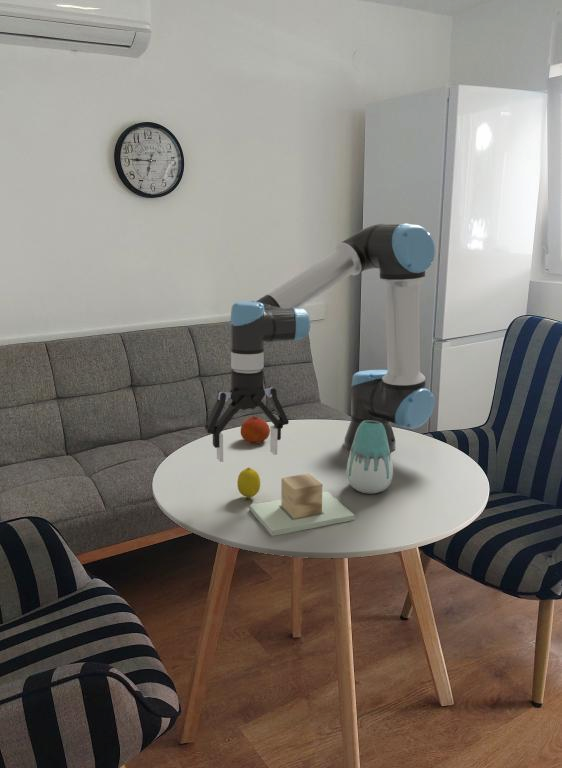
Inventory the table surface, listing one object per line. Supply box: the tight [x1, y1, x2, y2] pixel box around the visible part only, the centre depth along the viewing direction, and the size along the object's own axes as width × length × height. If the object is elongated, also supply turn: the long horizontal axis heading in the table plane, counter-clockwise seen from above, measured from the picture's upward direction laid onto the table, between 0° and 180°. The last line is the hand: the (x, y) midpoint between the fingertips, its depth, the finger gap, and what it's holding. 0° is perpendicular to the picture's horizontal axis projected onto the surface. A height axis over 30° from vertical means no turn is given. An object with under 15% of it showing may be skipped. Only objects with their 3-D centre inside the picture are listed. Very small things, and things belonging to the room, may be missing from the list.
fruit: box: [240, 415, 270, 444], centre depth 196 cm, size 9×9×8 cm
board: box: [249, 491, 355, 537], centre depth 148 cm, size 20×14×1 cm
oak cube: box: [280, 473, 323, 518], centre depth 147 cm, size 7×7×7 cm
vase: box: [346, 420, 394, 494], centre depth 160 cm, size 12×12×18 cm
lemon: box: [236, 467, 261, 499], centre depth 156 cm, size 6×6×8 cm
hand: (247, 456), depth 154 cm, fingers open, 13 cm apart
